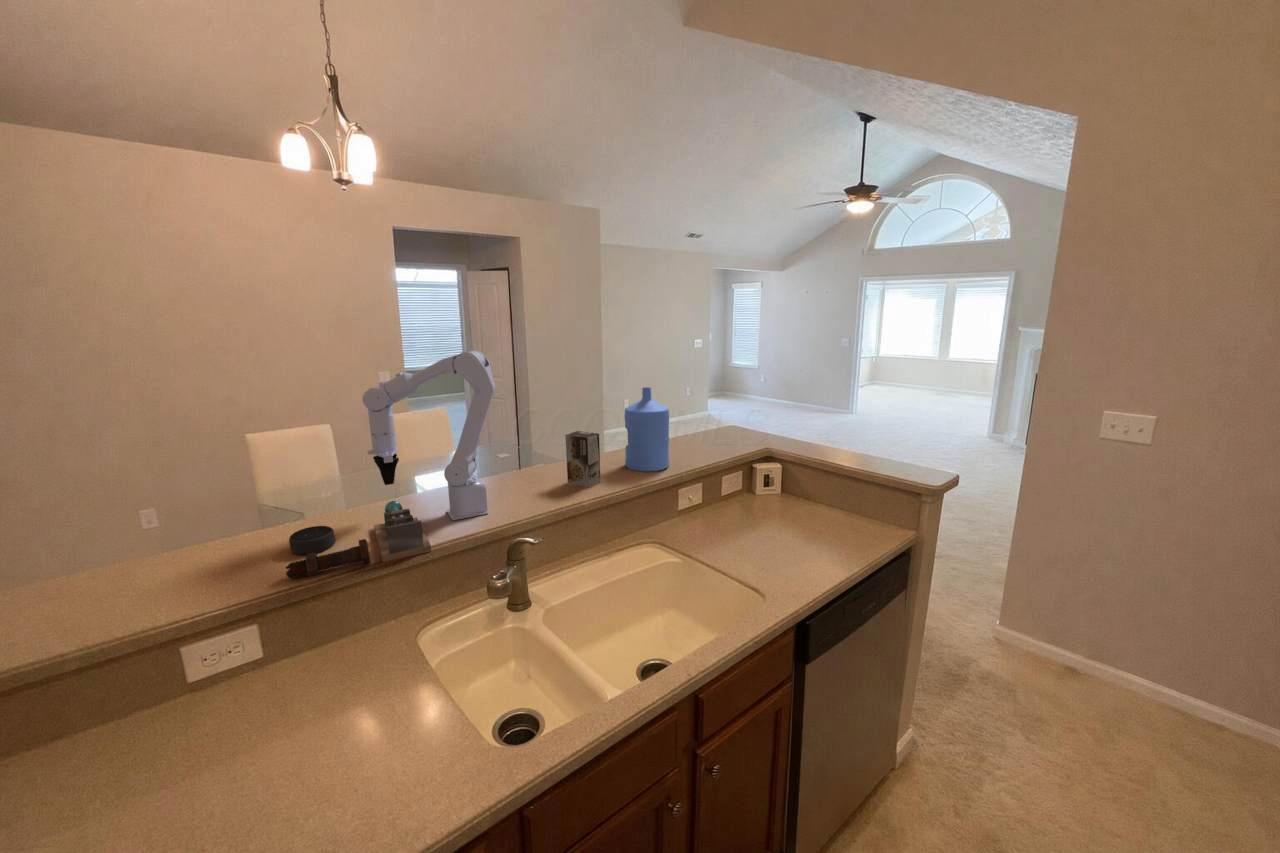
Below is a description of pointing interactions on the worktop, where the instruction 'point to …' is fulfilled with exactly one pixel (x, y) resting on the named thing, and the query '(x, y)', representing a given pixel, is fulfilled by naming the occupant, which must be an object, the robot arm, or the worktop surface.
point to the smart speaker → (312, 540)
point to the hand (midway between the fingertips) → (388, 482)
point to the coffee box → (583, 458)
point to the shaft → (393, 508)
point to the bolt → (329, 561)
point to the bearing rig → (401, 536)
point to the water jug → (647, 435)
